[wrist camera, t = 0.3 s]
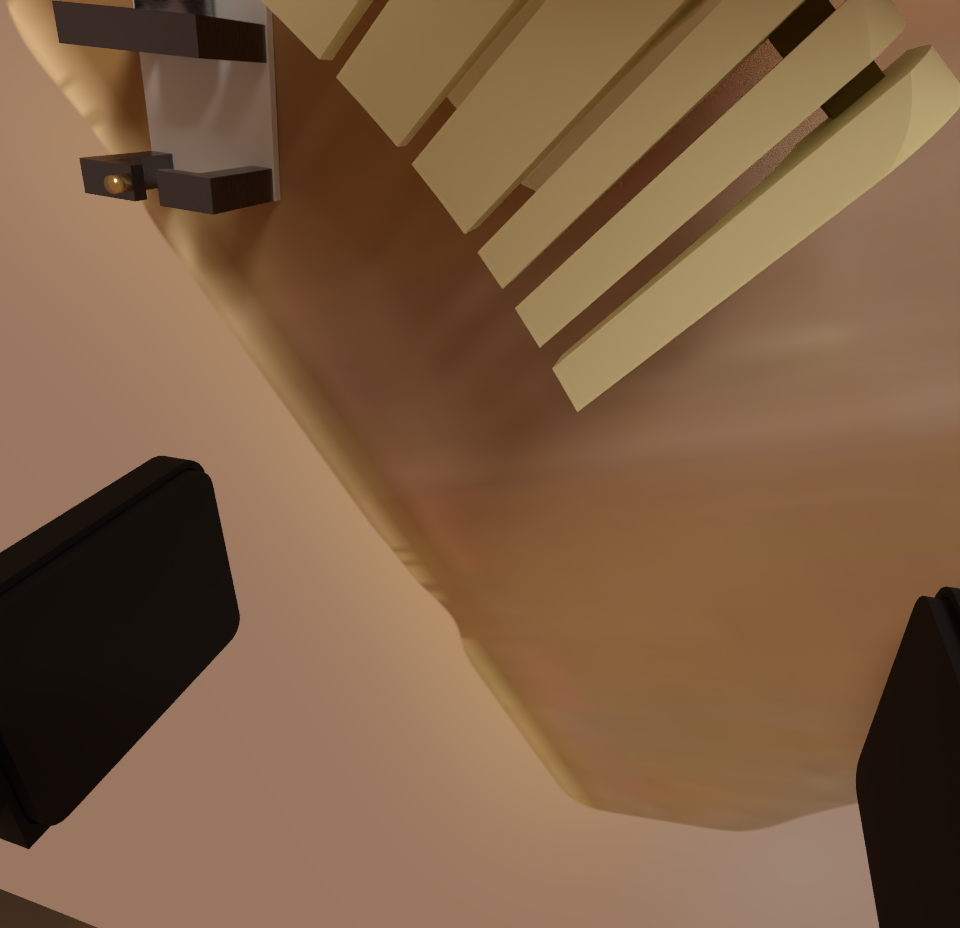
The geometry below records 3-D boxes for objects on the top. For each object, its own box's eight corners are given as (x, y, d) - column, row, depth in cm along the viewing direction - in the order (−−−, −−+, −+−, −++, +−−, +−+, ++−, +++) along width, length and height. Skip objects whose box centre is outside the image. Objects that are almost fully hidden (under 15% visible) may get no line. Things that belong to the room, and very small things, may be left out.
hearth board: (115, -197, 40) (107, -201, 39) (262, -194, 37) (256, -198, 37) (161, 180, 49) (155, 181, 49) (280, 200, 47) (275, 201, 47)
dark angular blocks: (153, 150, 48) (63, 159, 41) (271, 168, 46) (196, 180, 39) (157, 182, 49) (70, 195, 42) (273, 200, 47) (200, 217, 40)
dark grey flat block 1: (136, 12, 44) (52, 0, 39) (265, 24, 42) (195, 14, 36) (140, 49, 45) (59, 43, 40) (266, 63, 43) (199, 58, 37)
